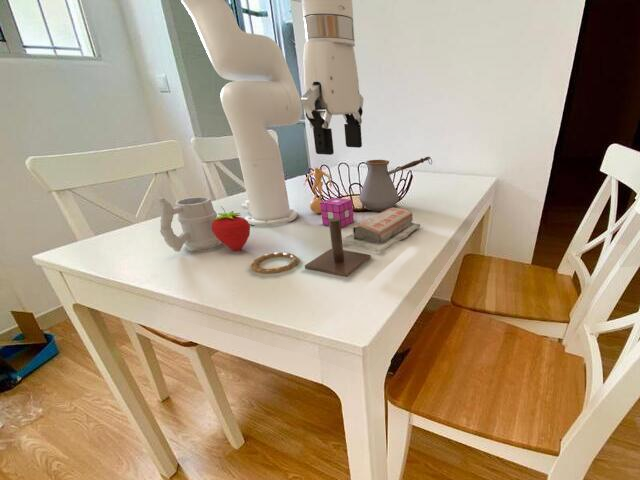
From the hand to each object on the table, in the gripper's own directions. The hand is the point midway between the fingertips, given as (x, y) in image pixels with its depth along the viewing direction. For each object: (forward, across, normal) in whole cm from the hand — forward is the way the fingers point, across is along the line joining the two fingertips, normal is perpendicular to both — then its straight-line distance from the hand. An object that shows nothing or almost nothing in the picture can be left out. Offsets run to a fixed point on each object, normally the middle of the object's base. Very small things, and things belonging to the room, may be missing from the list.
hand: (340, 150), depth 61 cm
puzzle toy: (+20, -15, -12) cm, 28 cm away
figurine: (+20, -22, -22) cm, 37 cm away
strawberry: (+20, +8, -22) cm, 31 cm away
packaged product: (+20, -11, +3) cm, 23 cm away
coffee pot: (+20, -32, -4) cm, 38 cm away
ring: (+20, +11, -10) cm, 24 cm away
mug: (+20, +10, -31) cm, 38 cm away
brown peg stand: (+20, +6, +1) cm, 21 cm away
